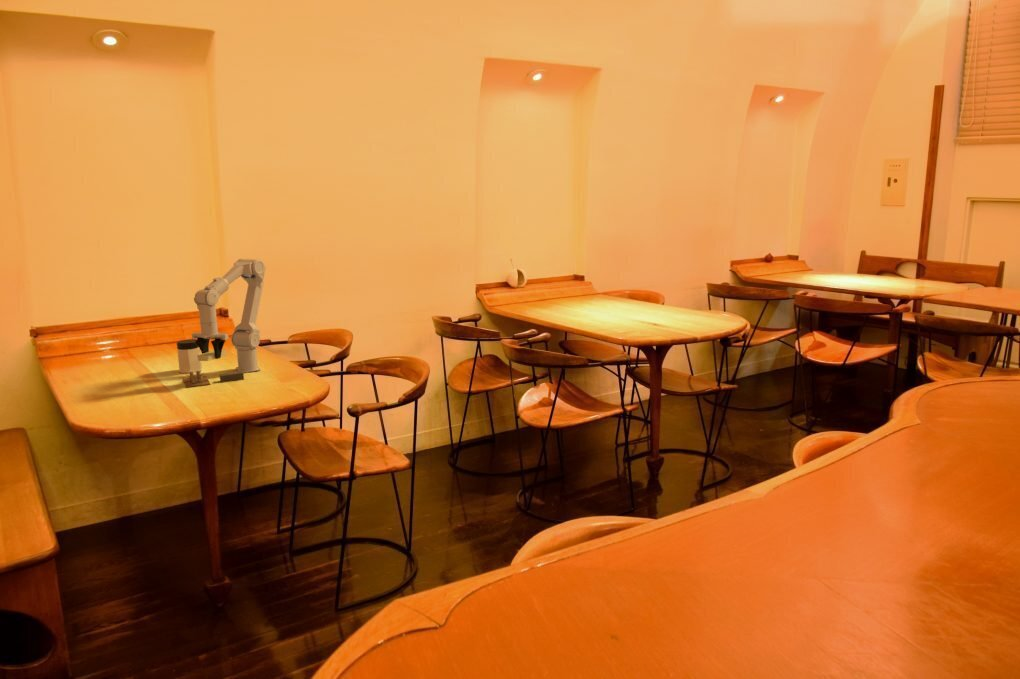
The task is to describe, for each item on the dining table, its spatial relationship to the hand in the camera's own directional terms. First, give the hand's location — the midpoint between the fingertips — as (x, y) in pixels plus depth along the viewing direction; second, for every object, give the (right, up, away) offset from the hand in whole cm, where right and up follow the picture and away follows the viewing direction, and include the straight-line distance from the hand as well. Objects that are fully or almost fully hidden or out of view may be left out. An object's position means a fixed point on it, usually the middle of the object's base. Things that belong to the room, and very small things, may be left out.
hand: (212, 358), depth 274 cm
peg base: (-6, -9, +1) cm, 11 cm away
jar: (-16, -6, +19) cm, 26 cm away
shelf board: (0, 0, 0) cm, 0 cm away
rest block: (+6, -8, +3) cm, 11 cm away
